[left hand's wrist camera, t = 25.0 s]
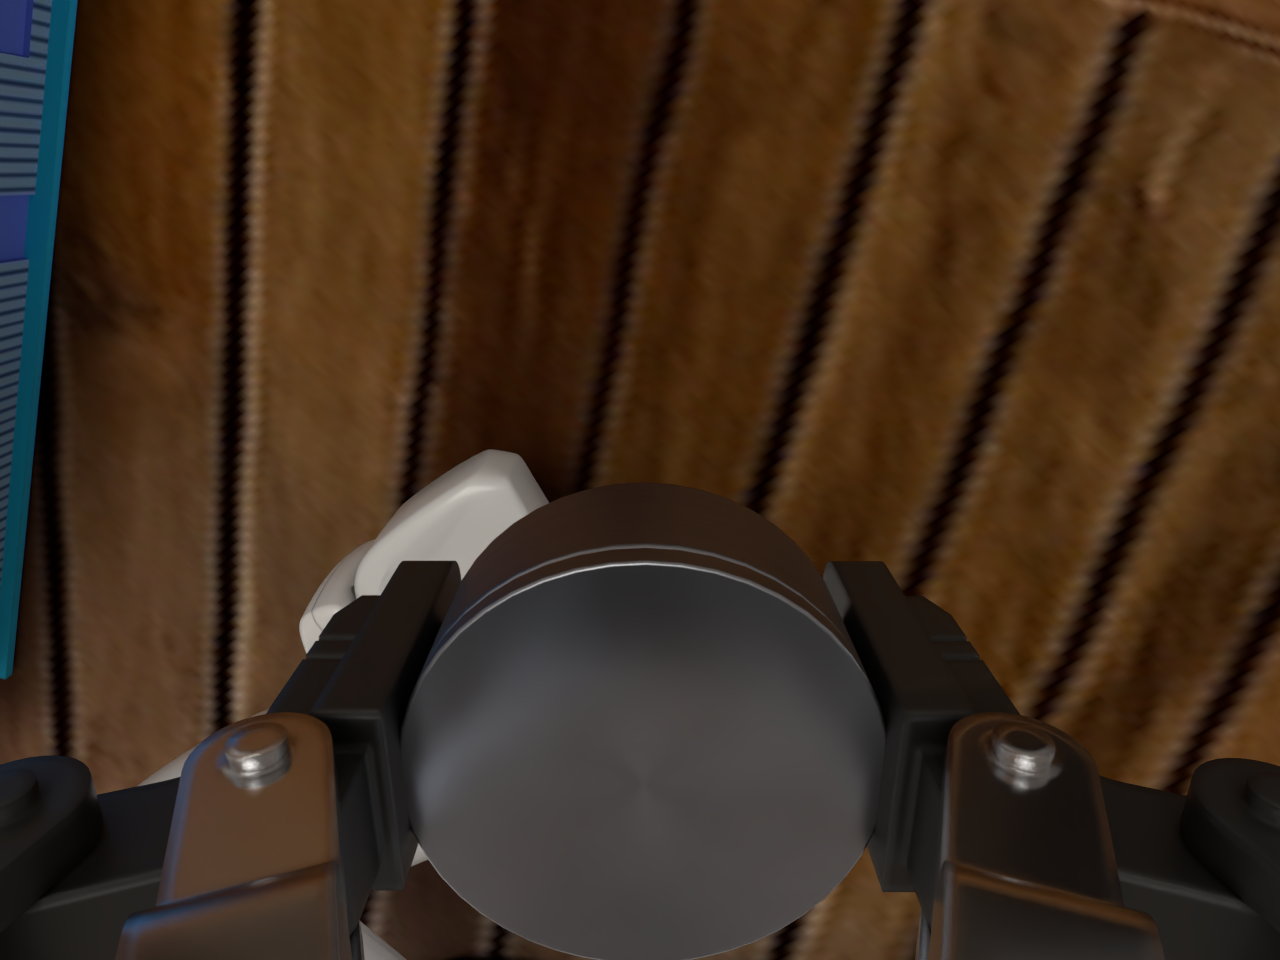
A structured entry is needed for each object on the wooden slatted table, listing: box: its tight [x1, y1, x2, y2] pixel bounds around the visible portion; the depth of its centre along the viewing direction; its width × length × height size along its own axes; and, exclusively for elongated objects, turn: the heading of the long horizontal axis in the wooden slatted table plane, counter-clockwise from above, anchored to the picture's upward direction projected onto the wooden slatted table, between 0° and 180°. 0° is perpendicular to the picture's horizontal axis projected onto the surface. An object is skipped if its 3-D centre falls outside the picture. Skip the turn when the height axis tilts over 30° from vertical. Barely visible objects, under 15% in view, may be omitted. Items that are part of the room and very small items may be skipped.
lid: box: [400, 483, 887, 960], centre depth 10 cm, size 5×5×2 cm
